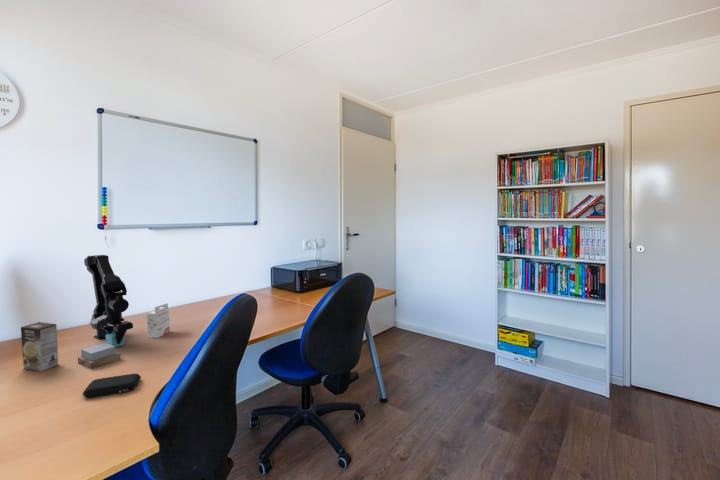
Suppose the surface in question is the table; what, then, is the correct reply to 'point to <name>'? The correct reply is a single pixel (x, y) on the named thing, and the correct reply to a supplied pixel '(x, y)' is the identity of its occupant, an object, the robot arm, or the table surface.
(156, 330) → the ink cartridge box
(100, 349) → the grey slab
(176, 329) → the table surface
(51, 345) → the coffee box
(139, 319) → the table surface
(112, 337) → the teal cube
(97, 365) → the tan flat square block
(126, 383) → the carrying case or bag
